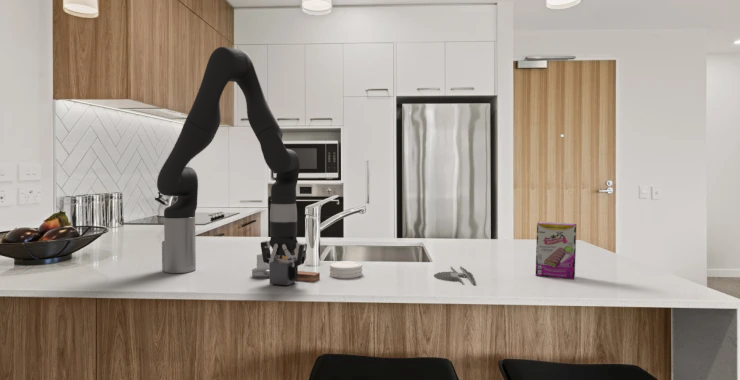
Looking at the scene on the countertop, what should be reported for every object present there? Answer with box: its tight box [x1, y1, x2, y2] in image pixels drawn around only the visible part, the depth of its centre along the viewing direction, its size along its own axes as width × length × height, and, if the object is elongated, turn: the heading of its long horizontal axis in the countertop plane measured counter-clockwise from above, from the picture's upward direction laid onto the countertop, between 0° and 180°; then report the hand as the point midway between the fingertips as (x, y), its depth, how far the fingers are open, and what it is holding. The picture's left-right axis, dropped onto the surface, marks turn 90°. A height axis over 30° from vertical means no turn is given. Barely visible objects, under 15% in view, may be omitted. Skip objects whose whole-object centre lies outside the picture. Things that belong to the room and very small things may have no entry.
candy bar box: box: [535, 221, 577, 280], centre depth 141 cm, size 11×5×16 cm, turn 65°
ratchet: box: [251, 253, 321, 283], centre depth 139 cm, size 22×7×7 cm, turn 70°
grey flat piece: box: [433, 266, 476, 286], centre depth 142 cm, size 28×28×1 cm
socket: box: [269, 259, 298, 286], centre depth 131 cm, size 6×6×6 cm
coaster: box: [329, 261, 363, 279], centre depth 143 cm, size 10×10×4 cm
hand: (283, 278), depth 131 cm, fingers closed on socket, 5 cm apart
